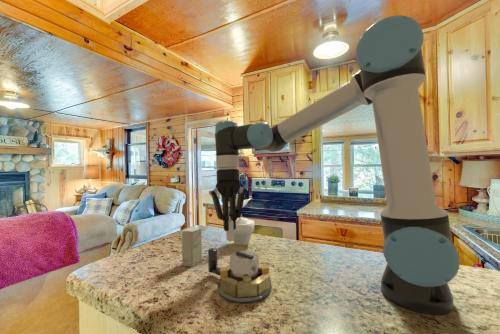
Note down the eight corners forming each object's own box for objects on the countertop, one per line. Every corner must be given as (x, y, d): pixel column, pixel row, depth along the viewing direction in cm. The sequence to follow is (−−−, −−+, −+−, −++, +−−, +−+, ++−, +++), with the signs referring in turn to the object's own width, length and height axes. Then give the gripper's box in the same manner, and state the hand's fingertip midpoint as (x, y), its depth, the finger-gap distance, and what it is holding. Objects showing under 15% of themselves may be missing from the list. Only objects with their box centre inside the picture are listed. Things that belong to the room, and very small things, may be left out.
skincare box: (192, 267, 78) (192, 231, 78) (181, 265, 79) (181, 230, 79) (202, 260, 84) (202, 227, 84) (191, 258, 85) (191, 226, 85)
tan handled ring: (278, 280, 65) (277, 257, 65) (248, 303, 55) (248, 275, 55) (224, 262, 78) (224, 243, 78) (192, 277, 68) (192, 255, 68)
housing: (282, 286, 65) (281, 252, 65) (245, 311, 53) (245, 270, 54) (244, 271, 75) (243, 241, 75) (206, 289, 64) (206, 255, 64)
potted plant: (240, 250, 94) (239, 189, 94) (223, 243, 102) (223, 187, 102) (261, 243, 102) (261, 187, 102) (244, 237, 111) (244, 186, 111)
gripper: (240, 168, 82) (242, 234, 82) (205, 169, 76) (207, 240, 75) (250, 167, 75) (252, 239, 75) (212, 168, 69) (215, 246, 69)
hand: (230, 240), depth 75 cm, fingers closed
